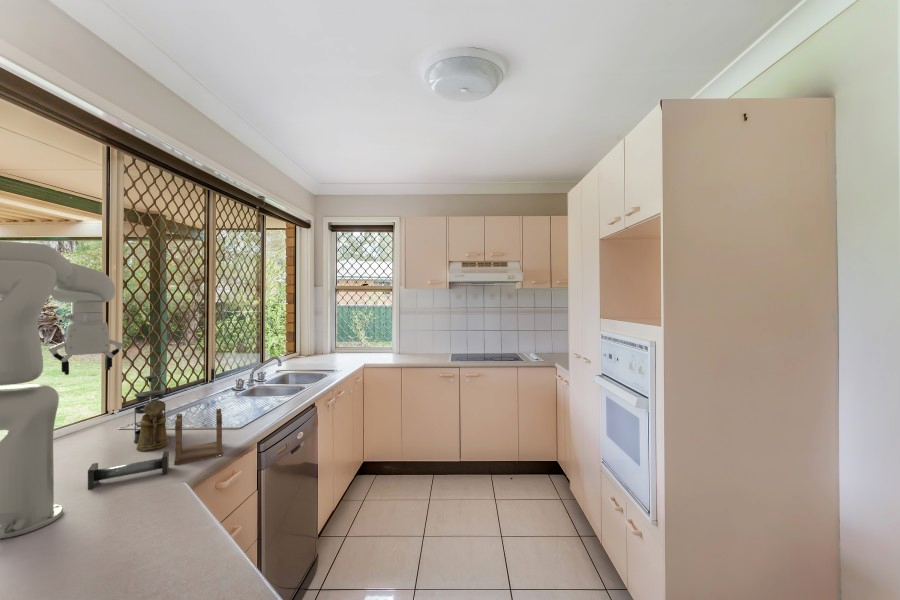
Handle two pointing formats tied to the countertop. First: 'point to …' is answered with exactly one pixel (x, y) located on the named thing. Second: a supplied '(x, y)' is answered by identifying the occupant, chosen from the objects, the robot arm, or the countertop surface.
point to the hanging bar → (127, 469)
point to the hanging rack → (197, 450)
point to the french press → (140, 398)
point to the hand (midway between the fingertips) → (87, 372)
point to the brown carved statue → (153, 427)
